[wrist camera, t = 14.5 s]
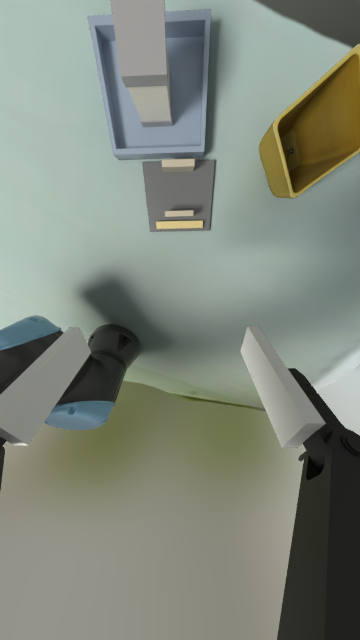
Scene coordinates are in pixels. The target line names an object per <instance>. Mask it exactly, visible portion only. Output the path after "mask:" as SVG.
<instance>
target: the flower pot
mask: <svg viewBox="0 0 360 640" xmlns="http://www.w3.org/2000/svg"><path fill="white" fill-rule="evenodd" d="M290 149H292V150H293V152H292V153H291V154H290V153H289V151H290ZM359 152H360V44H358V45H357V46H355V47H354V48H353V49H352V50H351V51H350V52H349V53H348V54H347V55H345V56H344V57H343V58H342V59H341V60H340V61H339V62H338V63H337V64H336V65H335V66H334V67H332V68H331V69H330V70H329V71H328V72H327V73H326V74H325V75H324V76H323V77H322V78H320V79H319V80H318V81H317V82H316V83H315V84H314V85H313V86H312V87H310V88H309V89H308V90H307V91H306V92H305V93H304V94H303V95H302V96H301V97H299V98H298V99H297V100H296V101H295V102H294V103H293V104H291V105H290V106H289V107H288V108H287V109H286V110H285V111H284V112H282V113H281V114H280V115H279V116H278V117H277V118H276V119H275V120H274V122H273V123H272V125H271V126H270V128H269V129H268V131H267V132H266V134H265V135H264V137H263V138H262V140H261V142H260V146H259V153H260V157H261V160H262V163H263V167H264V170H265V173H266V176H267V180H268V183H269V187H270V190H271V192H272V194H273V195H274V196H276V197H280V198H296V197H297V196H299V195H300V194H301V193H303V192H304V191H305V190H307V189H308V188H309V187H311V186H312V185H313V184H315V183H316V182H318V181H319V180H320V179H322V178H323V177H324V176H326V175H327V174H329V173H330V172H331V171H333V170H334V169H336V168H337V167H339V166H340V165H342V164H343V163H345V162H346V161H347V160H349V159H350V158H352V157H353V156H355V155H356V154H358V153H359Z"/></svg>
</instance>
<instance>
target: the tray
mask: <svg viewBox="0 0 360 640" xmlns="http://www.w3.org/2000/svg"><path fill="white" fill-rule="evenodd" d="M165 19H166V40H167V51H168V62H169V66H170V70H171V95H172V126H167V127H143V126H142V124H141V120H140V116H139V113H138V111H137V109H136V106H135V104H134V101H133V99H132V97H131V94H130V92H129V89H128V87H125V85H124V83H123V81H122V78H121V75H120V68H119V60H118V53H117V46H116V39H115V31H114V24H113V17H112V15H94V16H88V20H89V26H90V31H91V37H92V42H93V48H94V53H95V58H96V64H97V69H98V75H99V80H100V85H101V91H102V96H103V102H104V107H105V113H106V118H107V123H108V129H109V134H110V140H111V145H112V150H113V155H114V156H115V157H116V158H117V159H118V160H132V159H162V158H192V157H203V154H204V147H205V126H206V105H207V84H208V63H209V42H210V22H211V9H204V10H186V11H167V12H165Z"/></svg>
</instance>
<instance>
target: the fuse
mask: <svg viewBox="0 0 360 640" xmlns="http://www.w3.org/2000/svg"><path fill="white" fill-rule="evenodd" d="M110 2H111V10H112V17H113V24H114V31H115V39H116V46H117V53H118V60H119V68H120V75H121V78H122V81H123V83H124V85H125V87H128V89H129V92H130V94H131V97H132V99H133V101H134V104H135V106H136V109H137V111H138V113H139V116H140V120H141V124H142V126H143V127H167V126H172V95H171V70H170V66H169V62H168V51H167V40H166V19H165V0H110Z"/></svg>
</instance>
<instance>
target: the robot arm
mask: <svg viewBox="0 0 360 640" xmlns="http://www.w3.org/2000/svg"><path fill="white" fill-rule="evenodd" d="M139 350H140V343H139V340H138V339H137V337H136V336H135V335H134V334H133V333H132V332H131V331H129V330H127V329H125V328H123V327H120V326H116V325H105V326H101V327H99V328H97V329H96V330H95V331H94V332H93V334H92V335H91V336H90V338H89V342H88V344H87V342H86V340H85V338H84V336H83V334H82V332H81V330H80V328H79V327H70V328H69V329H68V330H67V331H66V332H63V331H61V328H59V327H57V326H55V325H54V324H53V323H51V322H50V321H49V320H47V319H46V318H44V317H42V316H30V317H27V318H25V319H23V320H21V321H18V322H16V323H14V324H12V325H10V326H8V327H6V328H4V329H2V330H0V489H1V480H2V471H3V463H4V455H5V449H4V447H2V446H3V444H4V443H5V442H6V441H8V442H10V443H11V444H13V445H29V443H30V442H31V441H32V439H33V438H34V436H35V434H36V433H37V432H38V430H39V429H40V427H41V426H42V424H43V423H44V422H45V423H46V424H48V425H51V426H54V427H57V428H63V429H70V430H86V429H93V428H97V427H99V426H101V425H103V424H104V423H105V422H106V421H107V419H108V417H109V415H110V413H111V410H112V408H113V407H114V405H115V401H116V398H117V395H118V392H119V390H120V387H121V384H122V381H123V378H124V375H125V373H126V370H127V368H128V367H129V366H130V365H131V364H132V363H133V361H134V360H135V359H136V358H137V356H138V353H139ZM240 352H241V354H242V356H243V359H244V361H245V363H246V366H247V368H248V370H249V373H250V375H251V377H252V380H253V382H254V384H255V386H256V389H257V391H258V393H259V396H260V398H261V400H262V403H263V405H264V407H265V410H266V412H267V414H268V416H269V419H270V421H271V423H272V426H273V428H274V430H275V432H276V435H277V437H278V439H279V442H280V444H281V446H282V448H298V447H299V446H300V445H302V444H303V445H304V446H305V448H306V450H307V451H306V452H304V453H303V454H302V455H300V457H299V460H300V461H302V460H303V459H304V464H303V470H302V477H301V483H300V490H299V497H298V503H297V511H296V518H295V523H294V530H293V537H292V543H291V550H290V557H289V564H288V570H287V577H286V584H285V590H284V597H283V604H282V610H281V617H280V623H279V630H278V637H277V640H360V436H359V435H358V434H356V433H354V432H353V431H350V430H348V429H346V428H345V427H344V426H343V425H342V424H341V423H340V422H339V420H338V419H337V418H336V416H335V415H334V414H333V412H332V411H331V410H330V409H329V407H328V406H327V405H326V403H325V402H324V401H323V399H322V398H321V397H320V396H319V394H317V392H316V390H315V389H314V388H313V386H311V384H310V383H309V381H308V380H307V379H306V377H305V376H304V375H303V374H301V373H300V372H299V371H298V370H296V369H295V368H291V369H287V367H286V366H285V364H284V363H283V361H282V360H281V358H280V357H279V356H278V354H277V353H276V351H275V350H274V348H273V347H272V346H271V344H270V343H269V341H268V340H267V338H266V337H265V336H264V334H263V333H262V331H261V330H260V328H259V327H258V326H248V327H247V330H246V334H245V337H244V341H243V344H242V348H241V351H240Z"/></svg>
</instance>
